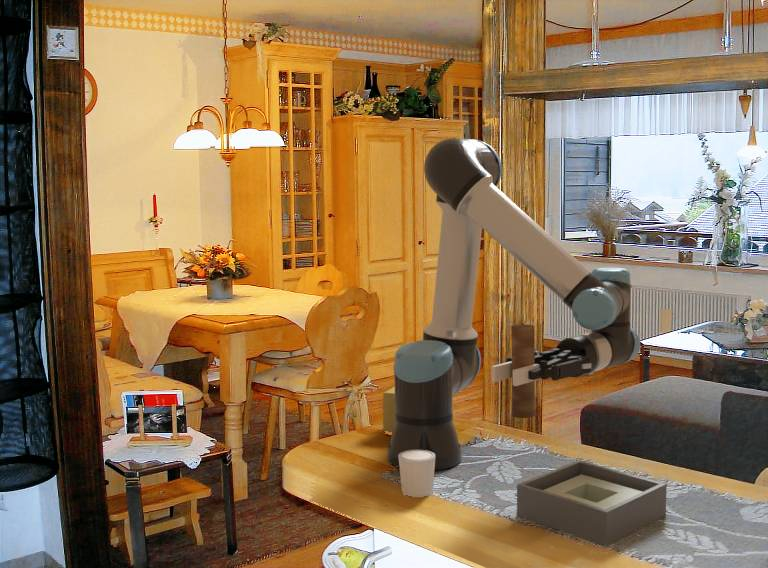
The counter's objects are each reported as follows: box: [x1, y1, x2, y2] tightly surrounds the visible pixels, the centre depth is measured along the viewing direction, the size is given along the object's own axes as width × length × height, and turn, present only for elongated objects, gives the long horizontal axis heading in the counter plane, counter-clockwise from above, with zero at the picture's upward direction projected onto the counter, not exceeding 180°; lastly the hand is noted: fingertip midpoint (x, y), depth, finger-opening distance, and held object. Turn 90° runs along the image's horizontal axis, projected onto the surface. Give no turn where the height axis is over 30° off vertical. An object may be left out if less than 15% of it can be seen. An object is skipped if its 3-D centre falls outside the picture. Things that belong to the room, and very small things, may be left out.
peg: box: [510, 323, 536, 419], centre depth 158 cm, size 4×4×16 cm
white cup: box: [398, 450, 436, 498], centre depth 163 cm, size 7×7×7 cm
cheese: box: [382, 385, 395, 433], centre depth 201 cm, size 10×11×10 cm
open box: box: [516, 459, 667, 547], centre depth 150 cm, size 18×18×6 cm
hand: (503, 376), depth 154 cm, fingers closed on peg, 4 cm apart
